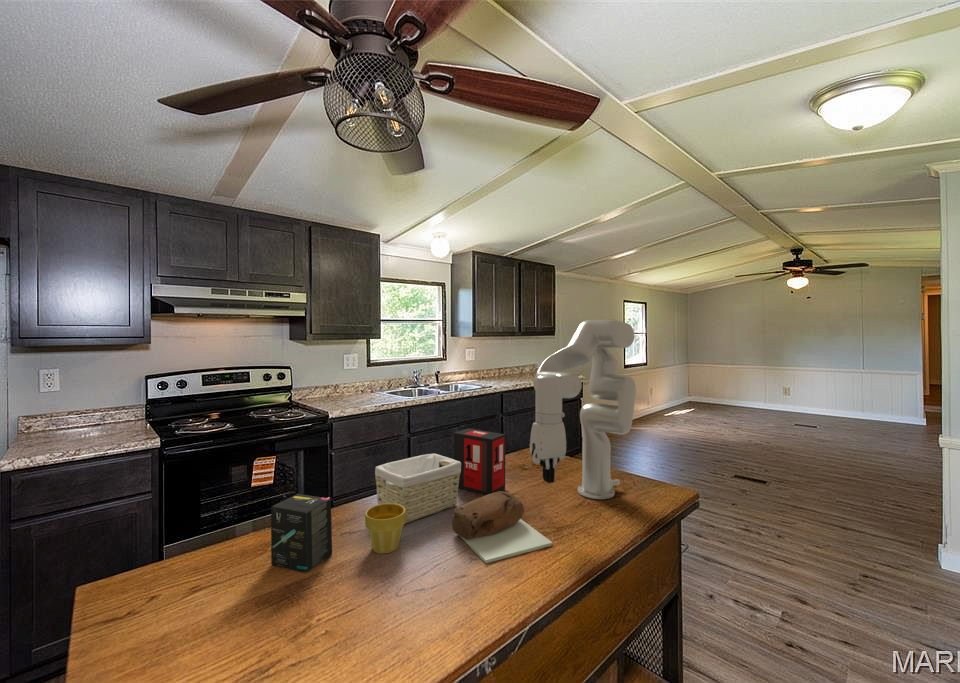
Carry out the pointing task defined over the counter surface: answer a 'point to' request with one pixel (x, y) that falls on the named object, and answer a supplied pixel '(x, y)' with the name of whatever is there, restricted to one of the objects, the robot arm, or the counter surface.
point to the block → (487, 515)
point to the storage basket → (419, 484)
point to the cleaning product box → (480, 460)
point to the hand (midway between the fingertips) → (548, 481)
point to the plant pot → (385, 526)
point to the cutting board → (508, 542)
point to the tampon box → (301, 532)
